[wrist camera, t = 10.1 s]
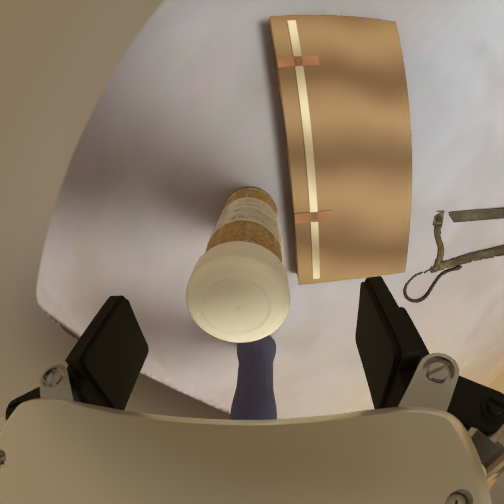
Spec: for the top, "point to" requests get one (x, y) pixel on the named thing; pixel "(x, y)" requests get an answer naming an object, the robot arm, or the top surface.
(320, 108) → the board
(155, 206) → the top surface
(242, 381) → the rubber mallet
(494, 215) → the hacksaw
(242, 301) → the sprinkles bottle
